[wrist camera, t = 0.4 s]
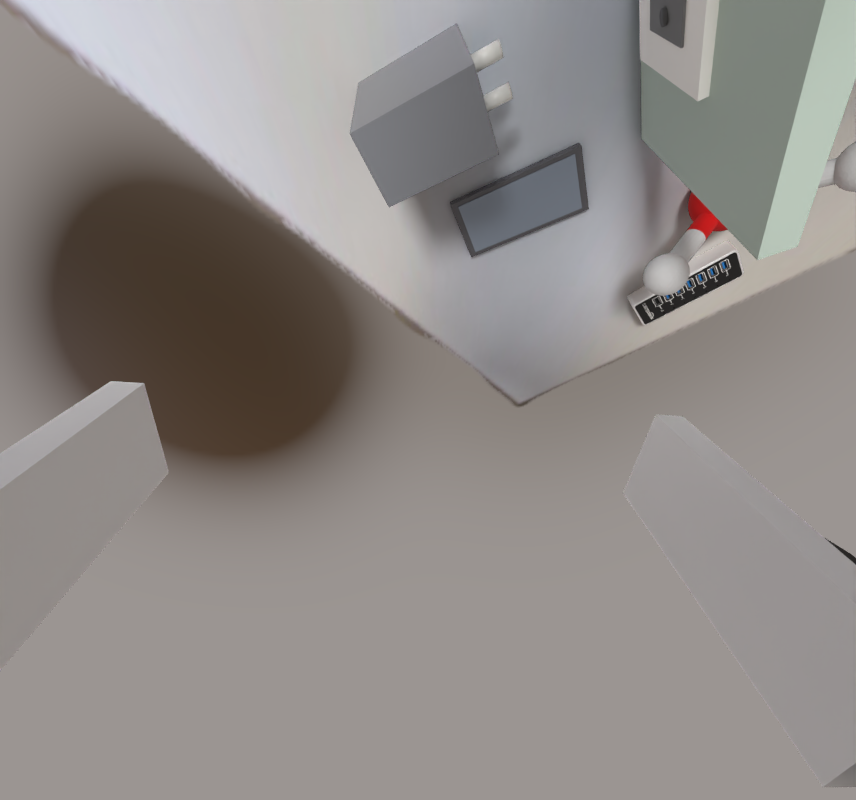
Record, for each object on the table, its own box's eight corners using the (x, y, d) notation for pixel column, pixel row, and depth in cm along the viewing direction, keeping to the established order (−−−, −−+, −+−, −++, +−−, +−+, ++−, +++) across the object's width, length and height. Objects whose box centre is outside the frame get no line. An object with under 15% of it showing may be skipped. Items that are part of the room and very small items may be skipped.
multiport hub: (734, 263, 45) (745, 275, 44) (637, 314, 51) (643, 326, 50) (726, 236, 43) (738, 248, 41) (625, 294, 48) (631, 306, 47)
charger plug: (358, 82, 30) (349, 133, 24) (483, 7, 27) (509, 43, 21) (389, 148, 34) (388, 207, 28) (503, 88, 31) (529, 139, 25)
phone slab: (449, 199, 38) (450, 206, 37) (577, 140, 35) (581, 146, 34) (469, 250, 43) (471, 257, 42) (584, 202, 39) (588, 209, 38)
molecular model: (824, 80, 32) (927, 127, 26) (826, 139, 35) (916, 193, 29) (607, 223, 40) (645, 284, 34) (626, 259, 44) (663, 320, 38)
